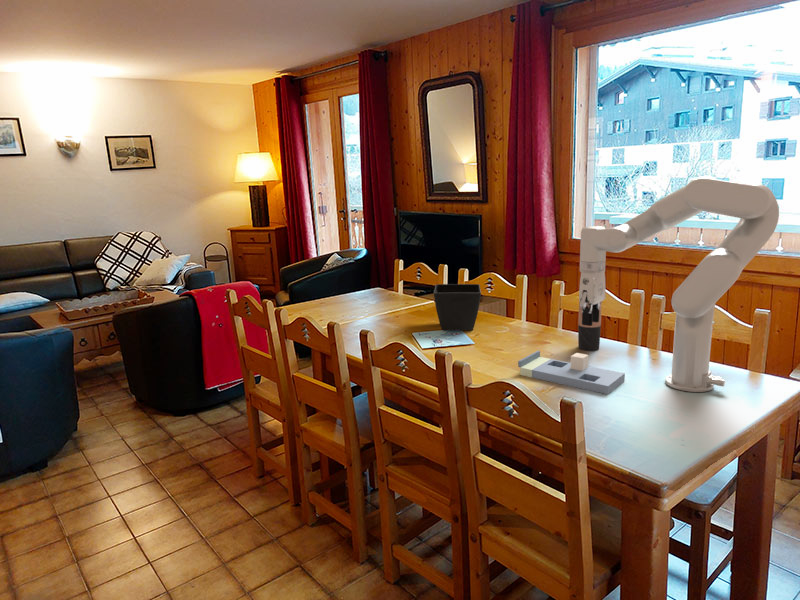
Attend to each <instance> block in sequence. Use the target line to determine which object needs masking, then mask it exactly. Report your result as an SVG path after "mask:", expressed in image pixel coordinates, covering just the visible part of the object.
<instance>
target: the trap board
mask: <svg viewBox="0 0 800 600" xmlns="http://www.w3.org/2000/svg"><path fill="white" fill-rule="evenodd" d="M517 364H518V365H517V367H518V368H520V372H519V373H520V376H524V377H528V378H531V379H538V380H541V381H546V382H549V383H550V382H552V383H554V384H559V385H563V386H569V387H574V388H578V389H581V390H586V391H590V392H595V393H596V392H597V393H600V394H604V395H609V394H610V393H612V391H613V392H614V390H616V389H617V387H619V386H621V384H623V383H625V381H626V380H625V378H626V373H624V372H619V371H614V370H610V369H605V368H604V369H603V368H601V367H600V368H599V367H595V366H589V365H588V368H586V369H585V370H583V371H581V370H576V369H571V368H570V366H571V362H568V361H562V360H558V359H553V358H549V357H543V356H541V351H540V350H536V351H534V352H533V353H531V354H528V355H527V356H525V357H523V358H521V359H519V360H517Z"/></svg>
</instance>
